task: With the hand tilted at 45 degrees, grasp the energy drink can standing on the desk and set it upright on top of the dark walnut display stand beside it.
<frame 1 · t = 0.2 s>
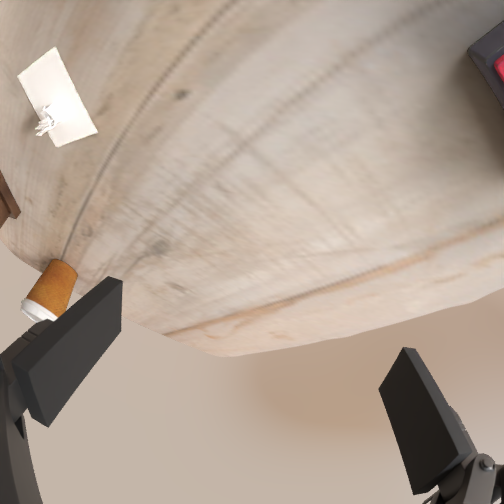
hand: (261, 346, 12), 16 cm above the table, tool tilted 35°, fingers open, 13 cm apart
adhesive hook: (55, 100, 21), on the table
disposable coffee cup: (65, 267, 50), on the table
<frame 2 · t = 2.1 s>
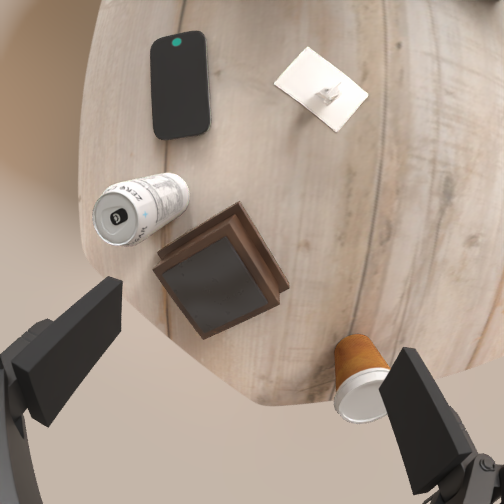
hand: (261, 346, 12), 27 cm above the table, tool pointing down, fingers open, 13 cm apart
adhesive hook: (322, 88, 32), on the table
energy drink can: (170, 194, 38), on the table
disposable coffee cup: (353, 349, 44), on the table
smartphone: (180, 83, 33), on the table
stand: (223, 266, 40), on the table
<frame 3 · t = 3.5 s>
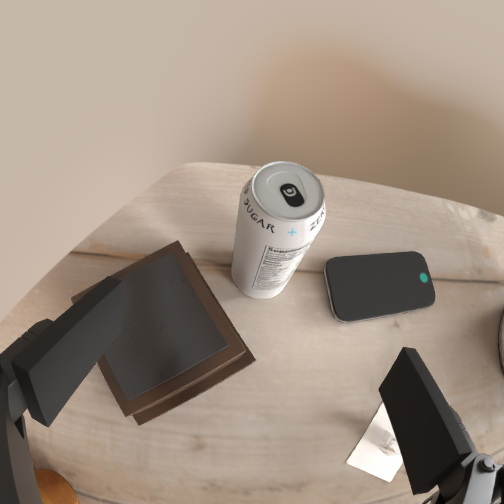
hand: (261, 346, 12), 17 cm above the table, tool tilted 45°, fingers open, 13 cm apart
adhesive hook: (391, 435, 25), on the table
energy drink can: (258, 275, 32), on the table
disposable coffee cup: (55, 492, 18), on the table
smartphone: (382, 285, 33), on the table
stand: (164, 339, 28), on the table
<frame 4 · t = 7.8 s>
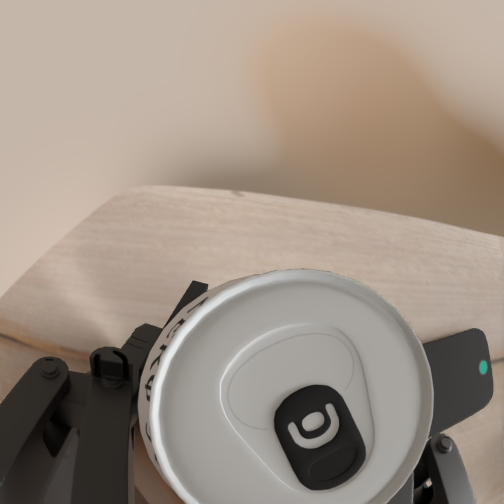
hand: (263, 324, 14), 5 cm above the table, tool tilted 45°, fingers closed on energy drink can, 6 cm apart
energy drink can: (238, 394, 17), on the table, touching gripper
smartphone: (430, 388, 18), on the table
stand: (96, 478, 13), on the table
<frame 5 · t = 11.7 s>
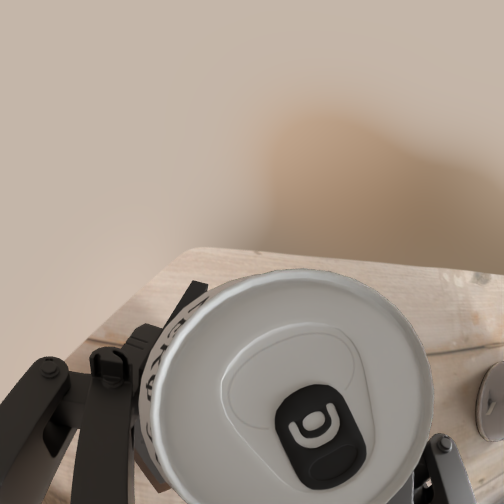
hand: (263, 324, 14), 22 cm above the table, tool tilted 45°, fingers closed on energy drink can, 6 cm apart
energy drink can: (238, 394, 17), point 17 cm above the table, touching gripper
stand: (181, 421, 30), on the table
when the fingers open (13 cm above the table, at t = 15.7 s): energy drink can stays where it is, resting on stand.
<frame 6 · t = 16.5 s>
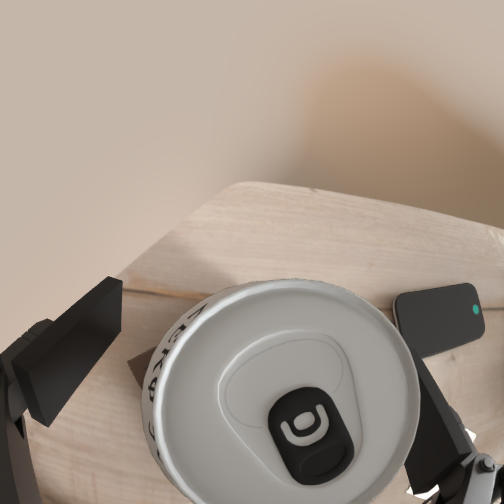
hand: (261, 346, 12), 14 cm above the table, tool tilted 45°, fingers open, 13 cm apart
adhesive hook: (444, 462, 22), on the table
energy drink can: (237, 394, 18), point 7 cm above the table, touching stand
smartphone: (441, 319, 29), on the table
stand: (231, 392, 24), on the table
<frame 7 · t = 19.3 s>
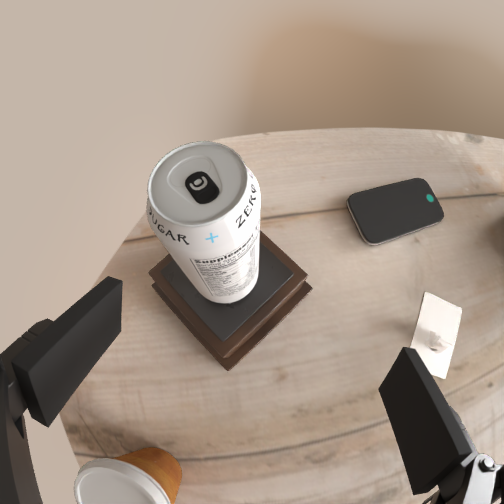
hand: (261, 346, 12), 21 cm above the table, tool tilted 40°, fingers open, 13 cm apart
adhesive hook: (435, 335, 32), on the table
energy drink can: (225, 273, 28), point 7 cm above the table, touching stand
disposable coffee cup: (157, 469, 27), on the table
smartphone: (397, 210, 38), on the table
stand: (231, 291, 34), on the table
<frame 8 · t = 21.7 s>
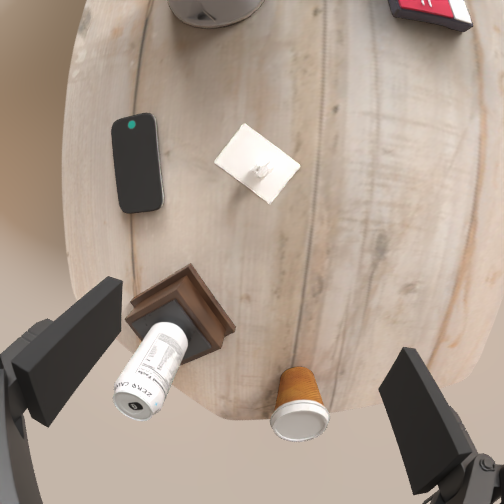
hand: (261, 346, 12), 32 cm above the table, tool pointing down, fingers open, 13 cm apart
adhesive hook: (257, 163, 41), on the table
energy drink can: (170, 335, 42), point 7 cm above the table, touching stand
disposable coffee cup: (297, 378, 52), on the table
smartphone: (138, 163, 42), on the table
stand: (182, 312, 49), on the table
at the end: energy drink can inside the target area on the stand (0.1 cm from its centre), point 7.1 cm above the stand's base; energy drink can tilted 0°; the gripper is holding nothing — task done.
